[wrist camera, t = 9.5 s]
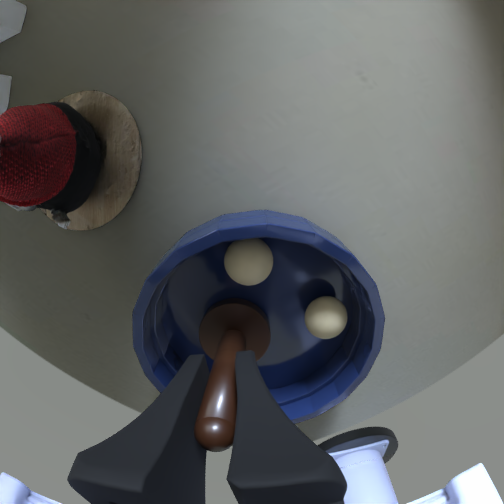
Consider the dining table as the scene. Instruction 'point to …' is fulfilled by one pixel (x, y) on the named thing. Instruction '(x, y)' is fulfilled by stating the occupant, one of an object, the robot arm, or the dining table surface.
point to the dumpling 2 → (326, 317)
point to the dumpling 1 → (248, 261)
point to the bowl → (264, 308)
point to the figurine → (70, 159)
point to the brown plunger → (227, 366)
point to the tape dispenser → (3, 27)
